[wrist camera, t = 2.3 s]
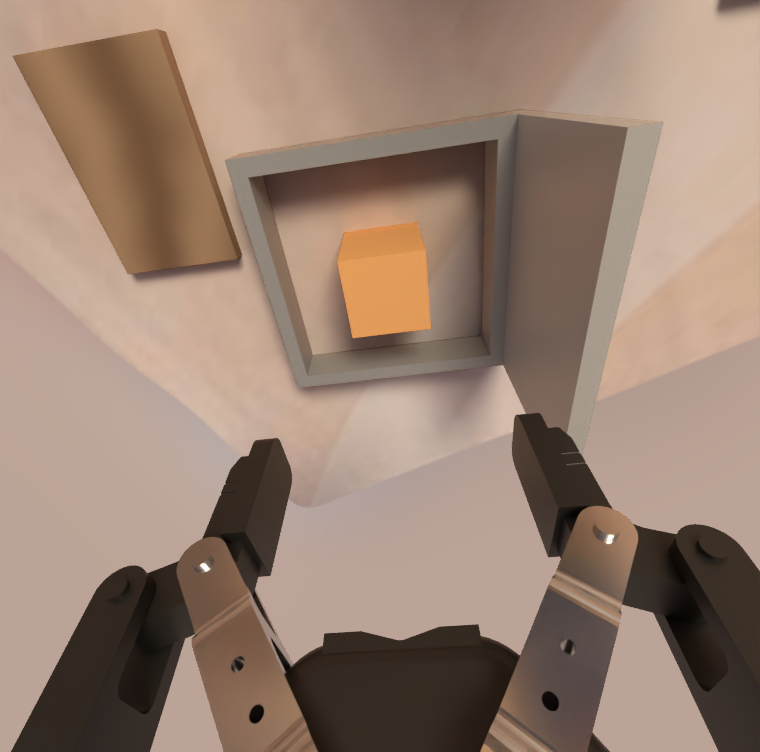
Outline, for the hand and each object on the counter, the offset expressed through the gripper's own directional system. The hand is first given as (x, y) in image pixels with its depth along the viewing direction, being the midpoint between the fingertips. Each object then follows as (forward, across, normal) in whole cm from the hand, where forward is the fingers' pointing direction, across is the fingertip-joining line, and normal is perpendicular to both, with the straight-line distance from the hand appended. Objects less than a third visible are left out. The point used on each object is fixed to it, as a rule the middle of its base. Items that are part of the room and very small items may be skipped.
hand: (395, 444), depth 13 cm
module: (+18, 0, 0) cm, 18 cm away
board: (+18, +14, -8) cm, 24 cm away
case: (+18, 0, 0) cm, 18 cm away
